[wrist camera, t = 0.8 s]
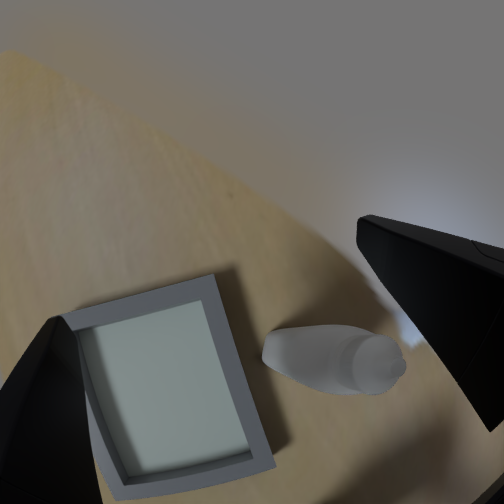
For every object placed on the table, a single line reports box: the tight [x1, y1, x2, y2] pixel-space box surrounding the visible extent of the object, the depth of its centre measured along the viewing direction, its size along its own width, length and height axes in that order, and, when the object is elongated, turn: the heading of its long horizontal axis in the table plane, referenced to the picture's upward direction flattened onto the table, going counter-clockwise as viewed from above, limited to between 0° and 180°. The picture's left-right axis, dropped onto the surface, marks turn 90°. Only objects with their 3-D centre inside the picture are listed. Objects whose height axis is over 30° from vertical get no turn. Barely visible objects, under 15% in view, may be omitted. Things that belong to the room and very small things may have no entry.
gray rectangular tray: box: [53, 274, 277, 501], centre depth 18 cm, size 13×11×2 cm
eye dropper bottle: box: [262, 325, 406, 395], centre depth 15 cm, size 4×6×12 cm
